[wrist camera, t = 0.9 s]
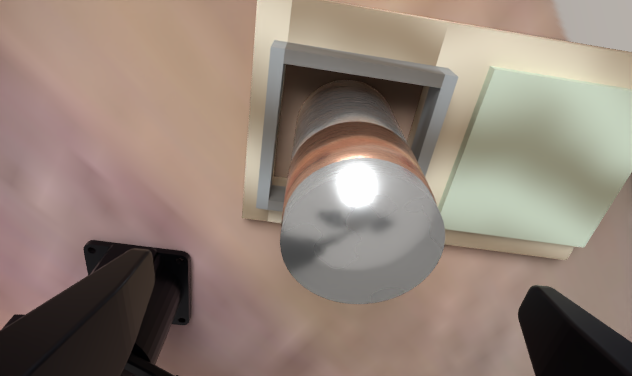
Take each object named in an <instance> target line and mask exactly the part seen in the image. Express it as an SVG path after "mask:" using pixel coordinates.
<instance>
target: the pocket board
mask: <svg viewBox="0 0 632 376" xmlns="http://www.w3.org/2000/svg"><path fill="white" fill-rule="evenodd" d="M286 64H290V65H296V66H303V67H309V68H315V69H322V70H328V71H334V72H341V73H347V74H353V75H360V76H366V77H372V78H379V79H385V80H391V81H398V82H404V83H410V84H417V85H423V89H422V93H421V96H420V99H419V103H418V106H417V110H416V113H415V116H414V120H413V123H412V127H411V130H410V134H409V137H408V140H407V144H408V146H409V147H410V148H411V150H412V152H413V154H414V156H415V158H416V160H417V162H418V164H419V166H420V168H421V170H422V172H423V174H424V176H425V178H426V180H427V182H428V185H429V187H430V189H431V191H432V193H433V195H434V198H435V200H436V203H437V207H438V209H439V211H440V214H441V216H442V219H443V222H444V227H445V243H444V244H445V245H453V246H460V247H468V248H476V249H483V250H491V251H499V252H507V253H514V254H522V255H530V256H537V257H545V258H553V259H561V260H567V258H568V257H569V255H570V254H571V252H572V250H573V249H574V247H575V246H576V247H585V245H586V244H587V242H588V240H589V239H590V237H591V236H592V234H593V232H594V231H595V229H596V228H597V226H598V225H599V223H600V221H601V220H602V218H603V217H604V215H605V213H606V212H607V210H608V209H609V207H610V206H611V204H612V202H613V201H614V199H615V198H616V196H617V194H618V193H619V191H620V190H621V188H622V187H623V185H624V183H625V182H626V180H627V179H628V177H629V175H630V174H631V172H632V52H627V51H621V50H616V49H610V48H604V47H598V46H592V45H585V44H580V43H574V42H569V41H563V40H557V39H551V38H545V37H539V36H533V35H528V34H522V33H516V32H510V31H504V30H498V29H492V28H487V27H481V26H475V25H469V24H463V23H457V22H451V21H445V20H440V19H434V18H428V17H422V16H416V15H410V14H404V13H399V12H393V11H387V10H381V9H375V8H369V7H363V6H357V5H352V4H346V3H340V2H334V1H328V0H257V12H256V26H255V40H254V54H253V68H252V82H251V97H250V111H249V125H248V139H247V153H246V167H245V181H244V196H243V210H242V218H245V219H252V220H260V221H268V222H275V223H281V222H282V212H283V205H284V198H285V191H286V185H287V178H283V177H276V176H274V167H275V159H276V150H277V141H278V132H279V123H280V114H281V105H282V96H283V87H284V79H285V70H286Z"/></svg>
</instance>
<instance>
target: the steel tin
mask: <svg viewBox="0 0 632 376" xmlns="http://www.w3.org/2000/svg"><path fill="white" fill-rule="evenodd" d="M281 227H282V229H281V238H280V246H281V253H282V257H283V260H284V262H285V265H286V267H287V269H288V270H289V272H290V273H291V275H292V276H293V277H294V278H295V279H296V280H297V281H298V282H299V283H300V284H301V285H302V286H303V287H305V288H306V289H308V290H309V291H311V292H312V293H314V294H316V295H318V296H321V297H323V298H326V299H329V300H332V301H336V302H341V303H348V304H368V303H376V302H381V301H385V300H389V299H392V298H395V297H397V296H399V295H402V294H404V293H406V292H408V291H409V290H411V289H413V288H414V287H416V286H417V285H418V284H420V283H421V282H422V281H423V280H424V279H425V278H426V277H427V276H428V275H429V274H430V273H431V272H432V271H433V269H434V268H435V266H436V265H437V263H438V261H439V259H440V257H441V255H442V252H443V248H444V243H445V227H444V222H443V219H442V216H441V214H440V211H439V209H438V207H437V203H436V200H435V198H434V195H433V193H432V191H431V189H430V187H429V185H428V182H427V180H426V178H425V176H424V174H423V172H422V170H421V168H420V166H419V164H418V162H417V160H416V158H415V156H414V154H413V152H412V150H411V148H410V147H409V146H408V144H407V142H406V140H405V138H404V135H403V133H402V131H401V129H400V127H399V125H398V123H397V121H396V119H395V117H394V114H393V112H392V110H391V108H390V106H389V104H388V102H387V101H386V99H385V98H384V97H383V95H382V94H381V93H380V92H379V91H377V90H376V89H375V88H373V87H371V86H370V85H368V84H365V83H363V82H359V81H355V80H339V81H334V82H330V83H327V84H325V85H323V86H321V87H320V88H318V89H316V90H315V91H314V92H313V93H312V94H310V96H309V97H308V98H307V99H306V100H305V102H304V103H303V105H302V107H301V109H300V111H299V114H298V118H297V123H296V130H295V137H294V145H293V152H292V159H291V164H290V167H289V172H288V178H287V185H286V191H285V198H284V205H283V212H282V222H281Z"/></svg>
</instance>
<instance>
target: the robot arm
mask: <svg viewBox="0 0 632 376" xmlns="http://www.w3.org/2000/svg"><path fill="white" fill-rule="evenodd" d="M91 247H92V248H91ZM93 248H94V249H93ZM84 255H85V260H86V266H87V271H88V276H87V277H85V278H84V279H82V280H80V281H79V282H77V283H76V284H74V285H72V286H71V287H69V288H68V289H66V290H64V291H63V292H61V293H60V294H58V295H56V296H55V297H53V298H52V299H50V300H48V301H47V302H45V303H44V304H42V305H40V306H39V307H37V308H36V309H34V310H32V311H31V312H29V313H28V314H26V315H14V316H13V317H12V318H11V319H10V320H9V321H8V323H7V324H6V325H5V326H4V327H3V328H2V330H0V376H174V375H172V374H170V373H169V372H167V371H165V370H163V369H161V368H159V367H158V366H156V365H155V364H156V361H157V359H158V356H159V354H160V351H161V349H162V346H163V344H164V341H165V339H166V336H167V334H168V332H169V329H170V327H171V324H176V325H186V324H188V323H189V320H190V317H191V304H190V256H189V255H188V253H186V252H183V251H177V250H169V249H160V248H152V247H144V246H136V245H128V244H120V243H112V242H103V241H95V240H91V241H88V243H87V244H86V245H85V246H84ZM179 258H181V259H183V260H180V259H179ZM518 318H519V322H520V326H521V329H522V332H523V336H524V339H525V342H526V346H527V349H528V353H529V356H530V359H531V363H532V366H533V369H534V372H535V375H536V376H632V342H630V341H629V340H627V339H626V338H624V337H623V336H621V335H620V334H619V333H617V332H616V331H614V330H613V329H611V328H610V327H608V326H607V325H606V324H604V323H603V322H601V321H600V320H598V319H597V318H595V317H594V316H592V315H591V314H590V313H588V312H587V311H585V310H584V309H582V308H581V307H579V306H578V305H577V304H575V303H574V302H572V301H571V300H569V299H568V298H566V297H565V296H564V295H562V294H561V293H559V292H558V291H556V290H555V289H553V288H551V287H548V286H538V285H535V286H532V287H531V288H530V289H529V290H528V292H527V294H526V296H525V298H524V300H523V302H522V304H521V306H520V308H519V311H518ZM176 376H178V375H176Z"/></svg>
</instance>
